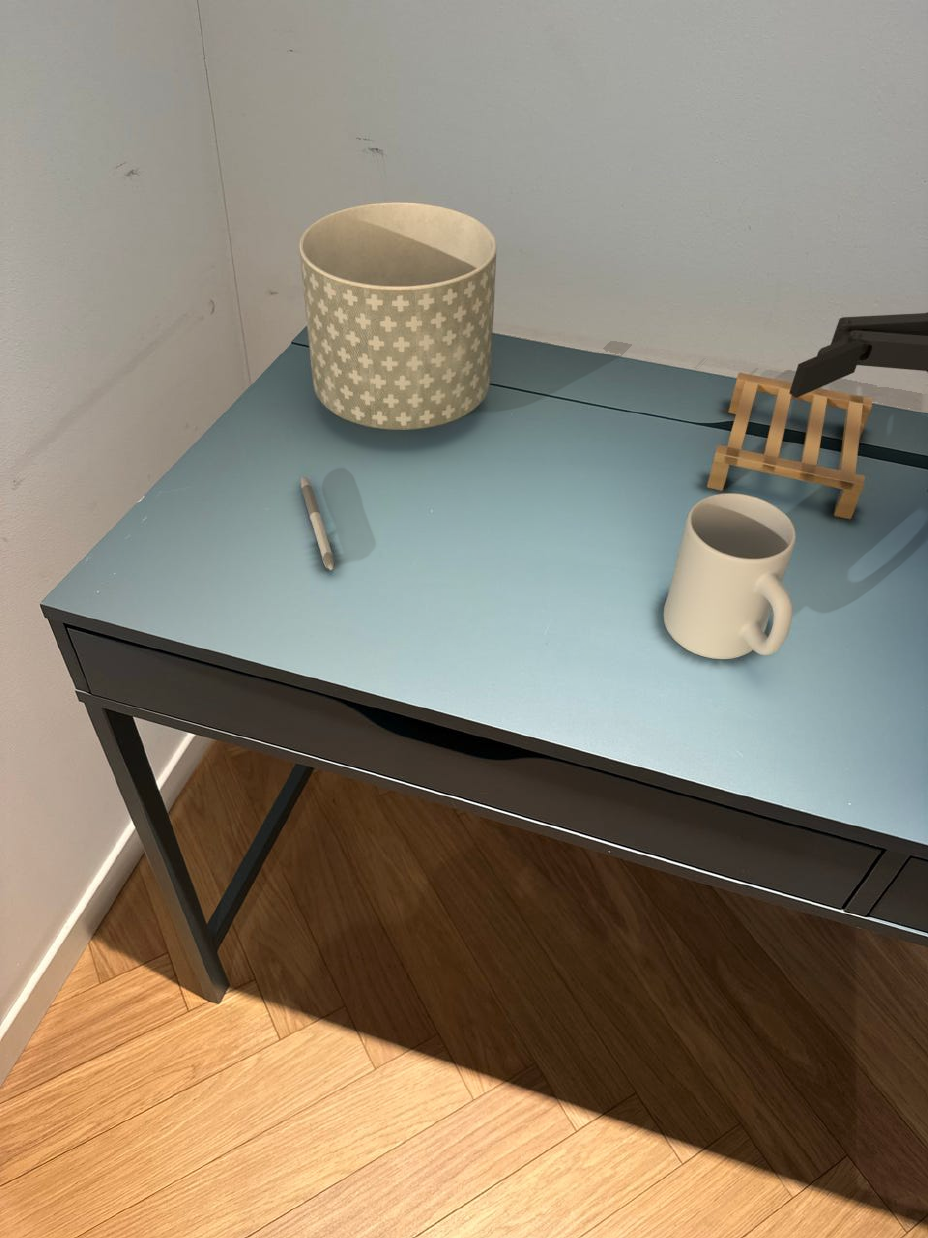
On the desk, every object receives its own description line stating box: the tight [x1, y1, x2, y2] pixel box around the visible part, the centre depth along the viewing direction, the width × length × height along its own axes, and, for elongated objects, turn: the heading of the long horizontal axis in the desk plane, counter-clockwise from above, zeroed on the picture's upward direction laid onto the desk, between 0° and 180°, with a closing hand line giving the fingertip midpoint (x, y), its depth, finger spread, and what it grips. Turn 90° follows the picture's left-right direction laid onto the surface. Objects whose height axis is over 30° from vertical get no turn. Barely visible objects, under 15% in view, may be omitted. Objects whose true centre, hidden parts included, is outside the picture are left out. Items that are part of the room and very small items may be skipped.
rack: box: [706, 372, 874, 520], centre depth 99 cm, size 16×14×4 cm
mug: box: [663, 492, 797, 660], centre depth 78 cm, size 12×8×11 cm
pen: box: [300, 476, 335, 571], centre depth 90 cm, size 1×14×1 cm, turn 17°
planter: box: [298, 201, 498, 431], centre depth 99 cm, size 19×19×18 cm
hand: (863, 428), depth 71 cm, fingers open, 13 cm apart
